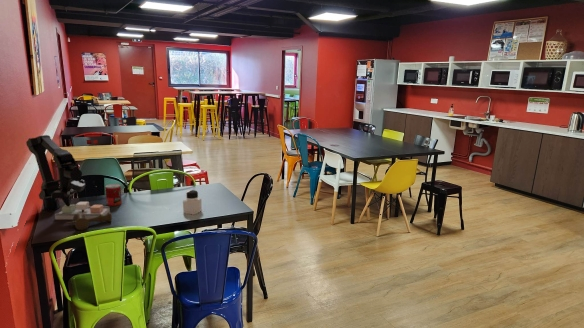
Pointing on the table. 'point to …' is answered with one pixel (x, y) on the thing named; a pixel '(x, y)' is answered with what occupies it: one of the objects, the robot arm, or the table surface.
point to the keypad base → (85, 212)
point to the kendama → (89, 220)
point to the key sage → (68, 209)
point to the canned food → (113, 194)
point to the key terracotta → (96, 208)
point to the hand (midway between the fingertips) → (68, 206)
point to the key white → (82, 205)
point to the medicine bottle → (192, 203)
